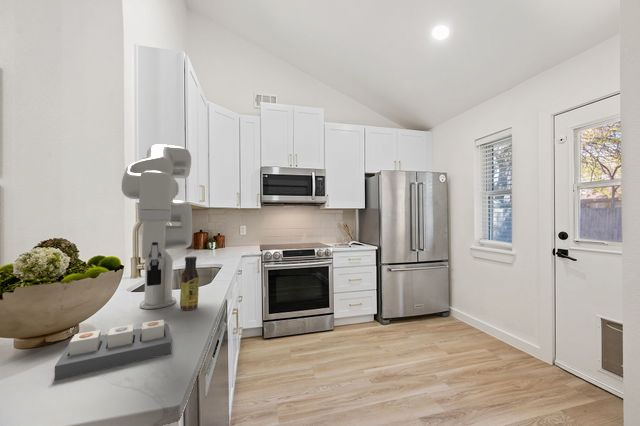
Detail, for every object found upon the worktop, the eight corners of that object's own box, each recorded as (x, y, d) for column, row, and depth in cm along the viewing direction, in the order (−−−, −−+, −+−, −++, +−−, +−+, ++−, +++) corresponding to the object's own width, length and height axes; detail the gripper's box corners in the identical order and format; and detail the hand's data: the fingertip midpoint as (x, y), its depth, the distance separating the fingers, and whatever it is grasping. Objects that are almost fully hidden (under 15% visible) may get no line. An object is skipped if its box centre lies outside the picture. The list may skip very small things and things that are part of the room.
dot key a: (142, 337, 74) (142, 322, 74) (163, 333, 77) (163, 319, 77) (141, 344, 70) (141, 329, 70) (163, 340, 73) (164, 325, 73)
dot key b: (74, 350, 67) (75, 333, 67) (100, 345, 69) (100, 329, 69) (69, 359, 62) (69, 341, 63) (97, 353, 65) (97, 336, 65)
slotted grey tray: (71, 352, 70) (71, 340, 70) (168, 333, 81) (168, 323, 81) (54, 380, 58) (54, 366, 58) (170, 353, 69) (171, 341, 70)
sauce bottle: (190, 312, 100) (191, 258, 100) (176, 310, 101) (177, 257, 101) (201, 306, 106) (202, 256, 106) (188, 305, 107) (188, 255, 108)
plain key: (110, 343, 70) (110, 327, 70) (133, 339, 73) (133, 324, 73) (107, 351, 66) (107, 335, 66) (132, 346, 69) (132, 330, 69)
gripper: (140, 216, 79) (138, 277, 79) (137, 216, 65) (135, 291, 64) (169, 216, 83) (168, 275, 83) (172, 217, 69) (171, 287, 68)
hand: (153, 281), depth 74 cm, fingers open, 6 cm apart
